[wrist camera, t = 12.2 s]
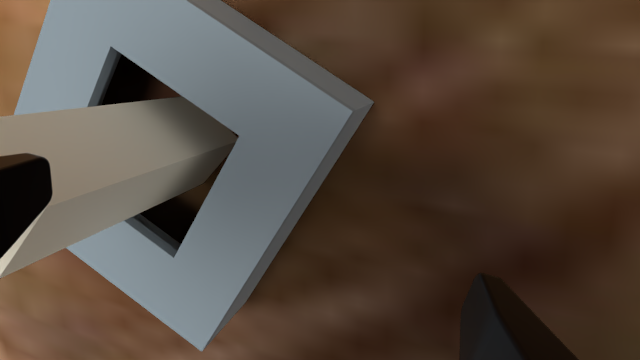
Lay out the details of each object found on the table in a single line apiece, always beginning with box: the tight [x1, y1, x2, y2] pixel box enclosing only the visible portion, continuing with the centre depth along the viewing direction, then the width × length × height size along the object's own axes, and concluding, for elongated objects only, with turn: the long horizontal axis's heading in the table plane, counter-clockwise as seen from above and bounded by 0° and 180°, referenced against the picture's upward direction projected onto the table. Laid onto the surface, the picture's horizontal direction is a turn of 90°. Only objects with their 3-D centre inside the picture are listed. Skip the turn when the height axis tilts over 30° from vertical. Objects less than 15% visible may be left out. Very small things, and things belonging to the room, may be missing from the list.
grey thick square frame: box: [14, 0, 374, 351], centre depth 23 cm, size 14×14×5 cm
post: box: [0, 97, 238, 278], centre depth 19 cm, size 4×4×12 cm
